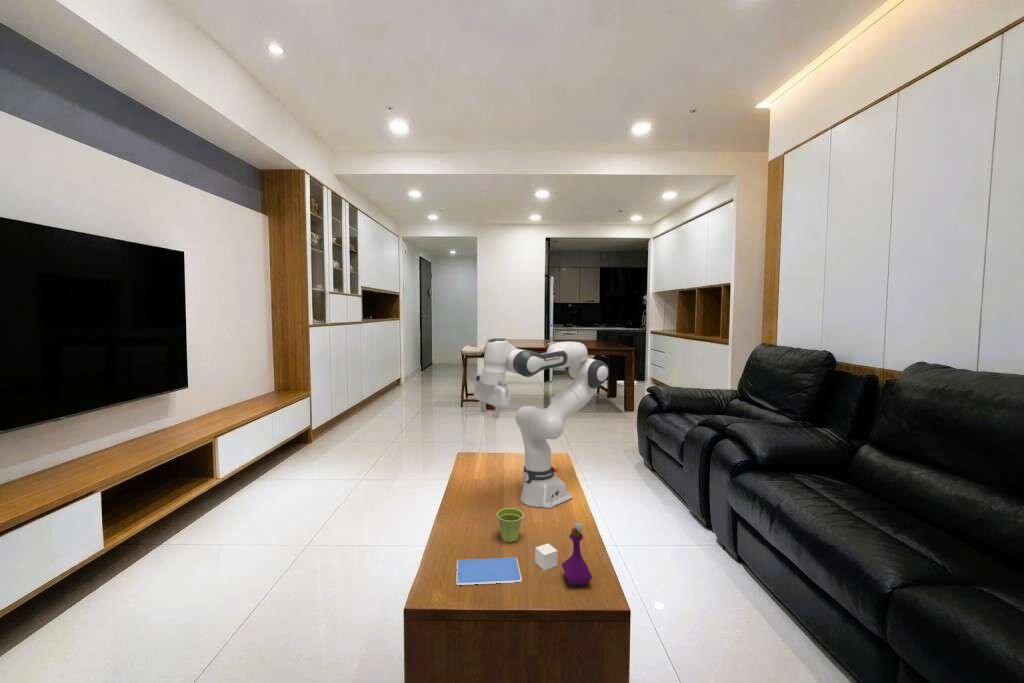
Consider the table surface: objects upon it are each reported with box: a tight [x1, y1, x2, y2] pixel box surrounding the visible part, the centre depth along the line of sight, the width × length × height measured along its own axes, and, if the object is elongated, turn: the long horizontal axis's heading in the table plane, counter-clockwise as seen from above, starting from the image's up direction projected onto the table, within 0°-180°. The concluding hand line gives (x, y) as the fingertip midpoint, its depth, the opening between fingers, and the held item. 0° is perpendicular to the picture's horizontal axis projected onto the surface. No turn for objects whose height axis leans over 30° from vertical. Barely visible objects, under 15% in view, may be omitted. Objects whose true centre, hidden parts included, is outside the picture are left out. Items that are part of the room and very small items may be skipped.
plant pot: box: [496, 507, 524, 543], centre depth 150 cm, size 9×9×9 cm
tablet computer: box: [455, 556, 523, 587], centre depth 131 cm, size 19×13×1 cm, turn 97°
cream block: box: [534, 543, 559, 571], centre depth 135 cm, size 5×5×5 cm
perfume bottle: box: [561, 522, 593, 586], centre depth 126 cm, size 8×8×18 cm
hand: (488, 415), depth 165 cm, fingers open, 8 cm apart
